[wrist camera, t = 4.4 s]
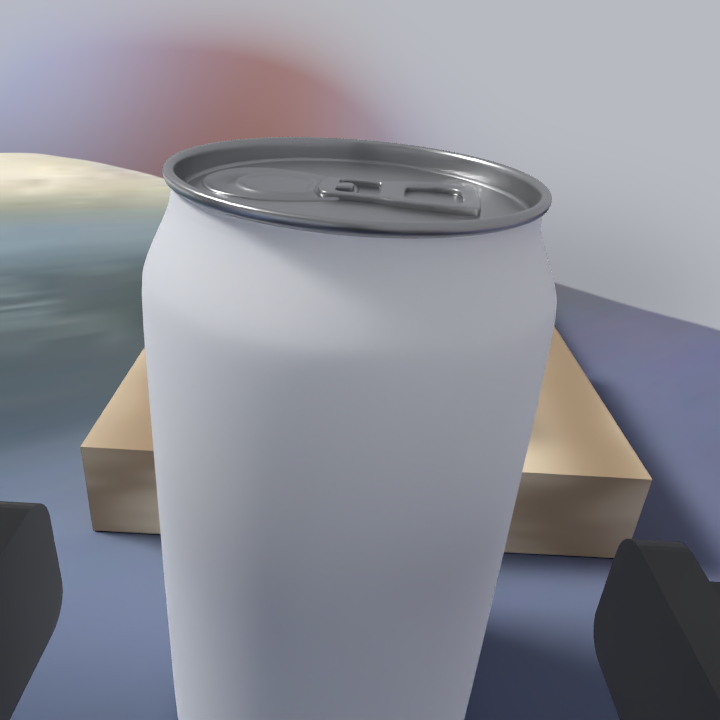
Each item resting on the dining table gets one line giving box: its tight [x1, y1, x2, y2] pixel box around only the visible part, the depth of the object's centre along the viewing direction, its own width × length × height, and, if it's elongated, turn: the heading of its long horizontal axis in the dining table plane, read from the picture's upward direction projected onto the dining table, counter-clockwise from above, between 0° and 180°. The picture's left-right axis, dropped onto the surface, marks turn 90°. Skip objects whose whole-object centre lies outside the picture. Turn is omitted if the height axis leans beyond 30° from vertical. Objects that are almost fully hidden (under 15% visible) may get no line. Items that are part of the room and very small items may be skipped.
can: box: [142, 137, 557, 720], centre depth 12 cm, size 6×6×12 cm
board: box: [81, 327, 652, 558], centre depth 24 cm, size 16×12×3 cm
